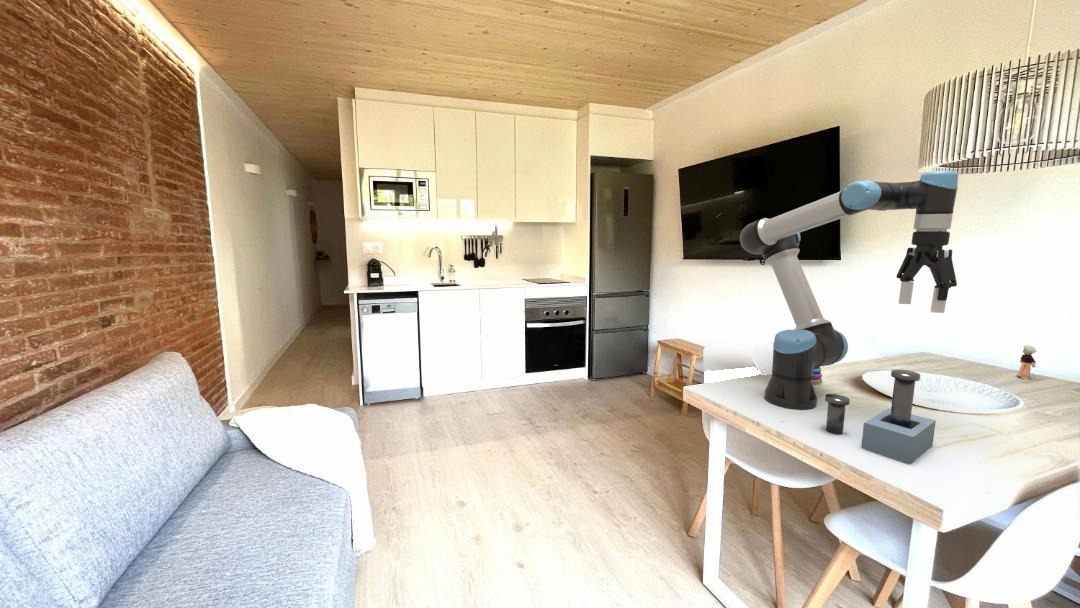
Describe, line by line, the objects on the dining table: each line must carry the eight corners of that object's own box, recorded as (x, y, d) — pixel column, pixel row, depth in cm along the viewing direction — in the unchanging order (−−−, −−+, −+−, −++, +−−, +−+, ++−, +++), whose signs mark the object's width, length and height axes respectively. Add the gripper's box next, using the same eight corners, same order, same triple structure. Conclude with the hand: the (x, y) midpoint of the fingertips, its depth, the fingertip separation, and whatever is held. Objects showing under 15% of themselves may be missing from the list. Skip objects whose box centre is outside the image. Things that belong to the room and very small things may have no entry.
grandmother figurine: (1009, 374, 166) (1014, 342, 164) (1021, 375, 165) (1026, 343, 163) (1027, 381, 158) (1032, 348, 156) (1039, 382, 157) (1045, 348, 155)
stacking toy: (812, 377, 166) (816, 330, 163) (827, 384, 158) (831, 335, 155) (792, 378, 166) (796, 330, 163) (805, 385, 158) (810, 335, 155)
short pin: (819, 426, 124) (821, 393, 123) (840, 427, 123) (843, 394, 121) (827, 435, 119) (830, 400, 117) (850, 436, 118) (853, 402, 116)
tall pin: (878, 441, 115) (886, 369, 112) (902, 442, 114) (911, 370, 111) (890, 451, 109) (899, 375, 106) (916, 453, 108) (925, 376, 105)
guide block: (885, 431, 120) (888, 408, 119) (932, 445, 112) (935, 420, 111) (861, 447, 111) (863, 422, 110) (909, 464, 103) (913, 437, 102)
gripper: (985, 230, 103) (970, 317, 107) (916, 230, 127) (906, 301, 131) (949, 230, 105) (936, 316, 108) (888, 230, 129) (878, 300, 132)
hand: (919, 308), depth 120 cm, fingers open, 13 cm apart
